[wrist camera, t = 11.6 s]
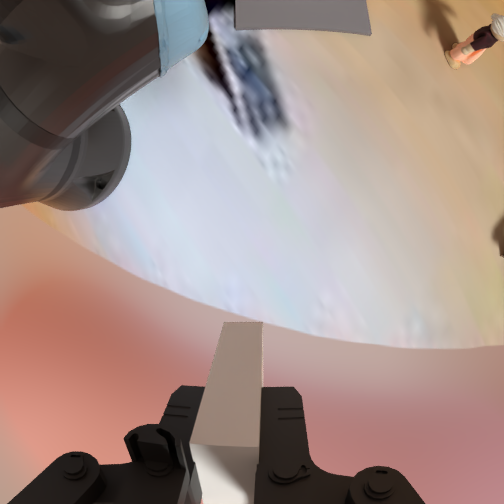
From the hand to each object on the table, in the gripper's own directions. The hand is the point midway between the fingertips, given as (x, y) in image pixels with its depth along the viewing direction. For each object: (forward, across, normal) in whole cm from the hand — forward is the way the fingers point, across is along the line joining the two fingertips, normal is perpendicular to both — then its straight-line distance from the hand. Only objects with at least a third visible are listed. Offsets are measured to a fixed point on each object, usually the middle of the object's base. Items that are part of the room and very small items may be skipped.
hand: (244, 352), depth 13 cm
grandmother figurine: (+25, +27, +25) cm, 44 cm away
